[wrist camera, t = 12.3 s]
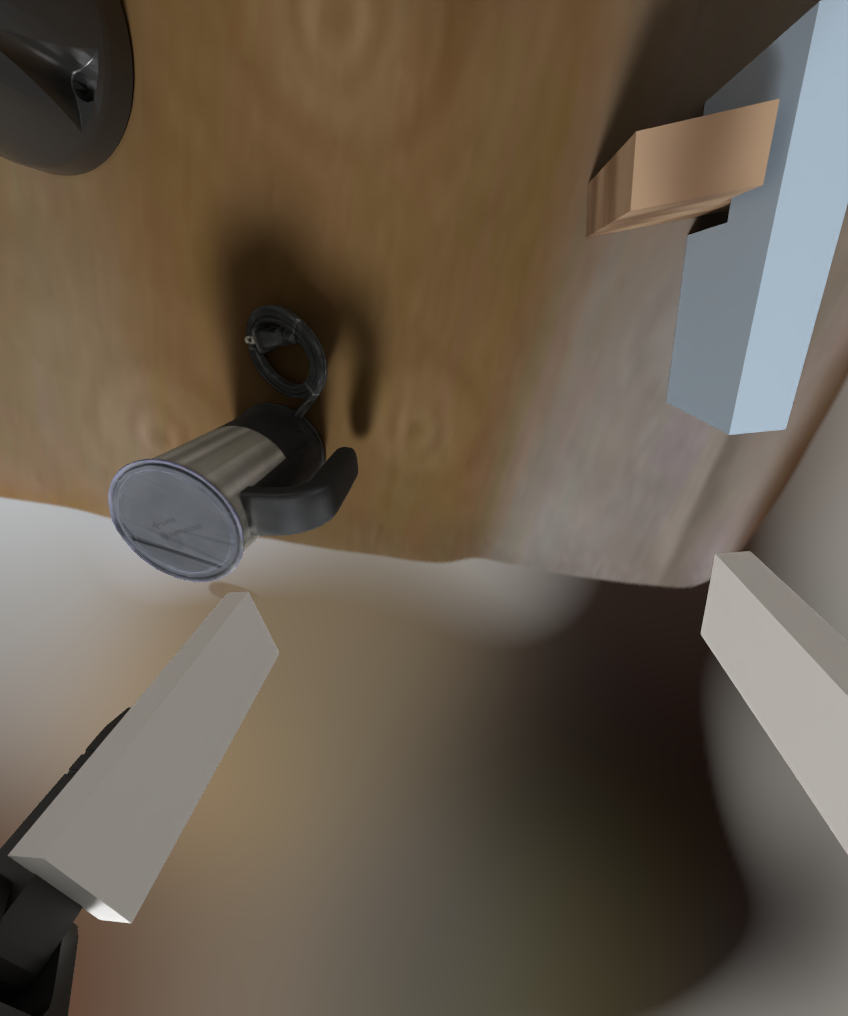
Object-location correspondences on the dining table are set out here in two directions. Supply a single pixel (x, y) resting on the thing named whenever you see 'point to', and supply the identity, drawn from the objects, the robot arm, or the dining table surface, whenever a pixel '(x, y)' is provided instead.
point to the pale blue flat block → (769, 238)
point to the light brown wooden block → (682, 169)
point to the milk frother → (237, 473)
